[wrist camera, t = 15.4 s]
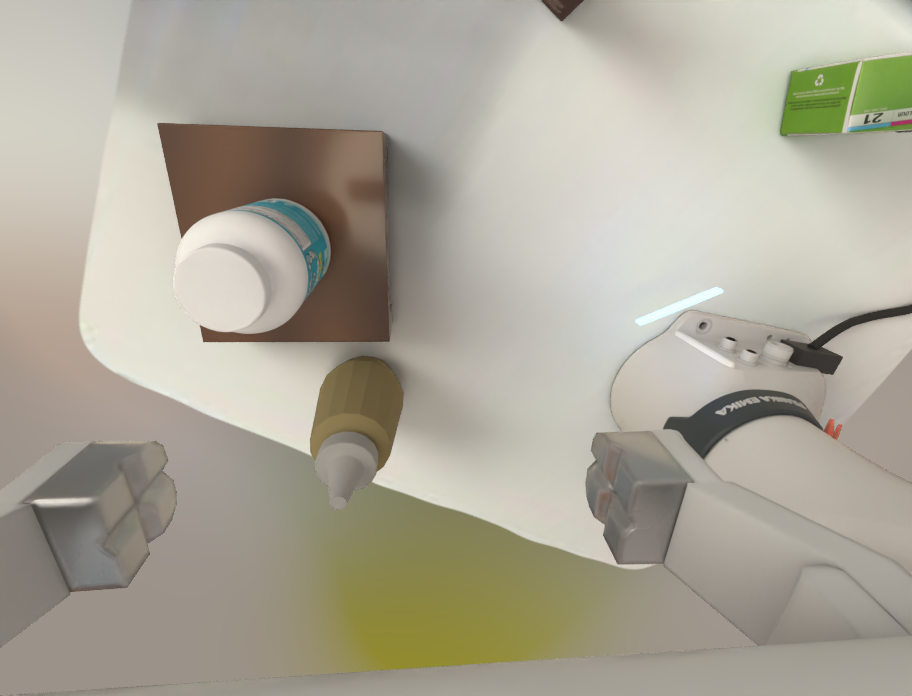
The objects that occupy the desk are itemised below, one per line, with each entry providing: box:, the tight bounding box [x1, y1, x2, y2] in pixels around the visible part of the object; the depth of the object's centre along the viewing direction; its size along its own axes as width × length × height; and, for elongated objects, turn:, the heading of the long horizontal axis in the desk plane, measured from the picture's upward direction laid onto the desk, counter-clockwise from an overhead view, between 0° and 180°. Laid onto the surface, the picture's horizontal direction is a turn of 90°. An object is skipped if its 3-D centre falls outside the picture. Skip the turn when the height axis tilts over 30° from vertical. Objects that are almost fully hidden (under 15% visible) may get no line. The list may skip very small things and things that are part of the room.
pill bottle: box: [173, 199, 331, 334], centre depth 30 cm, size 8×7×14 cm
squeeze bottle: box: [310, 356, 403, 510], centre depth 39 cm, size 8×8×18 cm
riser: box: [158, 123, 392, 342], centre depth 38 cm, size 16×17×5 cm
